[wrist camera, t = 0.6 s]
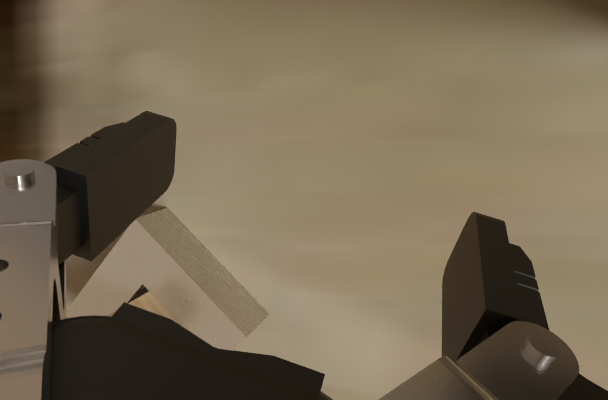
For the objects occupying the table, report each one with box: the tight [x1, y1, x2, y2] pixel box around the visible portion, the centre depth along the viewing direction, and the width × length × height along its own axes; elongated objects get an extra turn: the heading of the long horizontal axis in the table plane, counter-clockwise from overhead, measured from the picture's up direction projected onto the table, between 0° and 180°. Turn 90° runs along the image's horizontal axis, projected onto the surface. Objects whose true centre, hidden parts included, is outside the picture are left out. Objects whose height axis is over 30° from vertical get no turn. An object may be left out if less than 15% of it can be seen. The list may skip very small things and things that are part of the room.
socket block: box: [66, 208, 269, 351], centre depth 38 cm, size 12×12×4 cm
